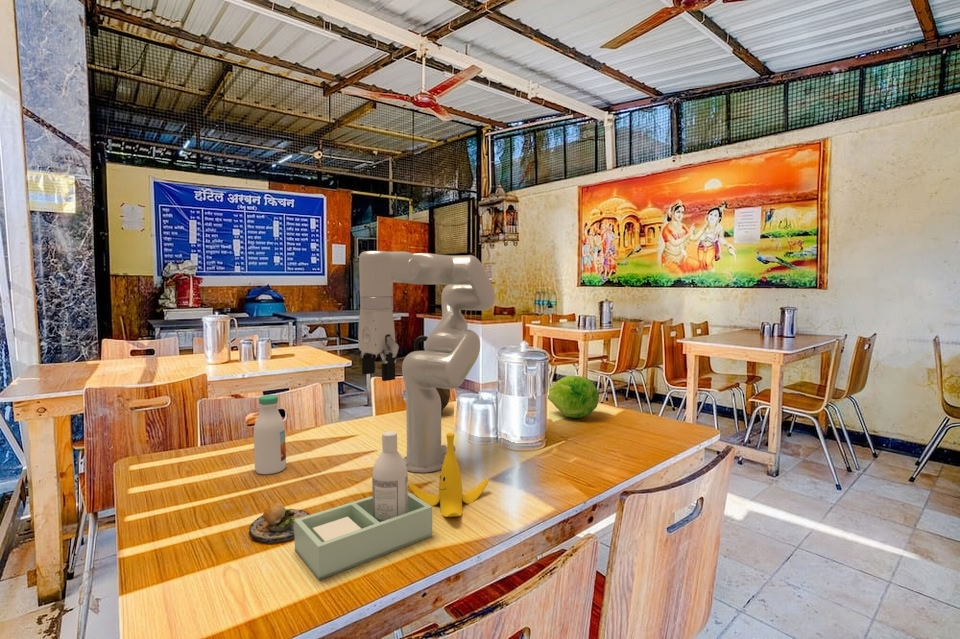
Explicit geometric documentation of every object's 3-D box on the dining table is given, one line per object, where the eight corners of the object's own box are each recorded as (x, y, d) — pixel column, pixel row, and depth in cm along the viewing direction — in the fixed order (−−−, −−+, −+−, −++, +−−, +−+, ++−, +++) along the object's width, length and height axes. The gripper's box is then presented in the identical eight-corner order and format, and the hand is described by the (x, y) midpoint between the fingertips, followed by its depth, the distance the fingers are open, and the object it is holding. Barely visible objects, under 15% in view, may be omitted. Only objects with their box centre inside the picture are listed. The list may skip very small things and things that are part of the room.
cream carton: (348, 536, 96) (347, 516, 96) (364, 551, 90) (363, 530, 90) (312, 548, 91) (312, 528, 91) (327, 565, 86) (327, 543, 86)
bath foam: (392, 518, 103) (391, 425, 101) (415, 528, 99) (414, 432, 97) (365, 531, 98) (364, 433, 96) (388, 543, 93) (387, 441, 92)
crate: (401, 513, 106) (401, 487, 106) (432, 536, 97) (432, 506, 97) (294, 550, 92) (294, 519, 91) (319, 580, 83) (318, 546, 82)
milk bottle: (274, 476, 126) (272, 400, 125) (248, 473, 128) (245, 399, 126) (291, 465, 134) (289, 393, 132) (266, 463, 136) (264, 392, 134)
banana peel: (452, 529, 100) (452, 450, 99) (407, 497, 115) (406, 427, 114) (513, 507, 110) (513, 434, 109) (464, 479, 125) (464, 416, 124)
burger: (317, 535, 98) (316, 500, 97) (253, 554, 92) (252, 516, 91) (303, 510, 108) (302, 478, 107) (245, 525, 102) (243, 491, 101)
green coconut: (558, 408, 195) (558, 369, 194) (606, 416, 184) (607, 375, 182) (537, 417, 181) (537, 376, 180) (588, 427, 170) (589, 382, 168)
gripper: (345, 303, 118) (347, 373, 119) (380, 306, 104) (382, 385, 106) (373, 302, 122) (375, 369, 124) (410, 305, 109) (411, 380, 111)
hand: (378, 376), depth 115 cm, fingers open, 9 cm apart
